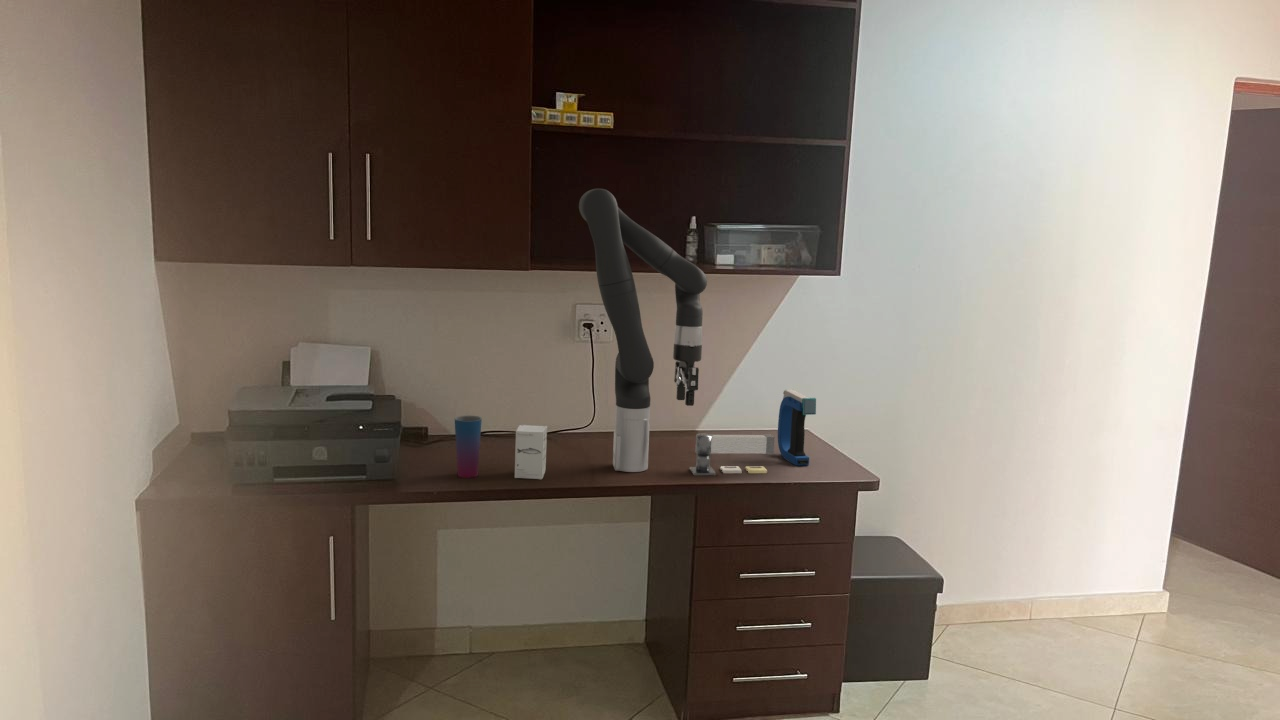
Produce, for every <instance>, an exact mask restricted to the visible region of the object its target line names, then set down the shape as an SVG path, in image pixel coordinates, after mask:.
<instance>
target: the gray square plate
mask: <svg viewBox="0 0 1280 720" xmlns="http://www.w3.org/2000/svg"><path fill="white" fill-rule="evenodd" d="M710 463H711V454H709V455H701V454H697V453H696V465H695V466H689V470H690V472H691V473H693V474H692V475H693V476H716V475H717V474H716V473H717V472H716V471H715V469H713V467H712V466H710Z"/></svg>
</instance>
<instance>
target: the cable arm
mask: <svg viewBox="0 0 1280 720" xmlns="http://www.w3.org/2000/svg"><path fill="white" fill-rule="evenodd" d="M774 449H775V436H774V435H773V434H771V433H764V434H710V433H705V432H701V433H696V435H695V449H694V450H695V454H696V455H697V454H701V455H709V454H710V455H713V454H760V455H761V454H764V455H774V454H775V453H774V452H775V450H774Z"/></svg>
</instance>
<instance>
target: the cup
mask: <svg viewBox="0 0 1280 720" xmlns="http://www.w3.org/2000/svg"><path fill="white" fill-rule="evenodd" d="M482 419H483V418H482V417H481V416H479V415H472V414H471V415H458V416H455V417H454V430H455V431H454V432H455V434H454V435H455V446H456V447H455V448H456V449H455V450H456V466H457V476H458V477H459V478H463V479H473V478H476V477H477V476H479V461H480V446H481V436H482V435H481V433H482V422H483V421H482Z"/></svg>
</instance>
